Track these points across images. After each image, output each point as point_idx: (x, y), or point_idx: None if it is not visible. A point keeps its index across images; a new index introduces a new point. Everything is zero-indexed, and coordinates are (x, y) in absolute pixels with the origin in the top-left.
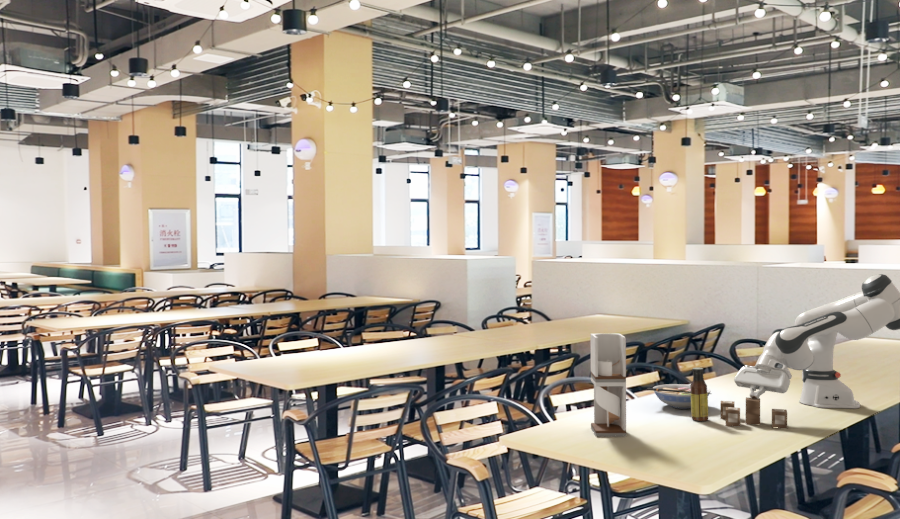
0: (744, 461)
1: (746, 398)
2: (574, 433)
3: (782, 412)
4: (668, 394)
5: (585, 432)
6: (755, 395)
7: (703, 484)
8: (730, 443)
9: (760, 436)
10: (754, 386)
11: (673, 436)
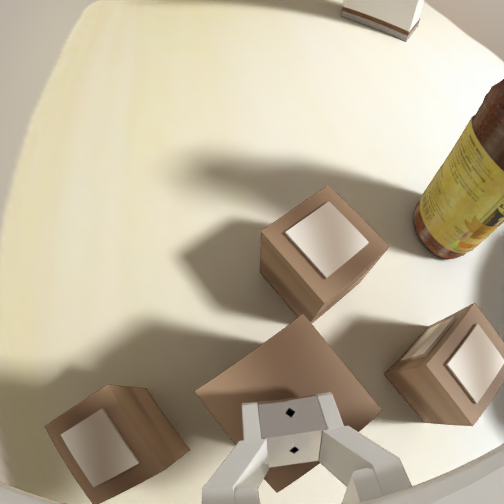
0: (73, 56)
1: (349, 380)
2: None
3: (63, 414)
4: None
5: None
6: (256, 403)
7: (94, 3)
8: (144, 89)
9: (106, 208)
10: (357, 501)
11: (291, 47)
